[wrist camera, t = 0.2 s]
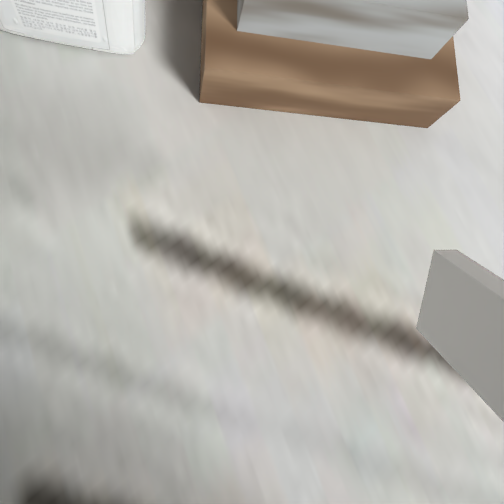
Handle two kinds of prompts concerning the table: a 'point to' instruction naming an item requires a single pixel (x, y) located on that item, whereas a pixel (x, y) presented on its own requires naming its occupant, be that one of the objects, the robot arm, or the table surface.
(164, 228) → the table surface
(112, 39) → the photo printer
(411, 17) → the grey block on wood
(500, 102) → the table surface
